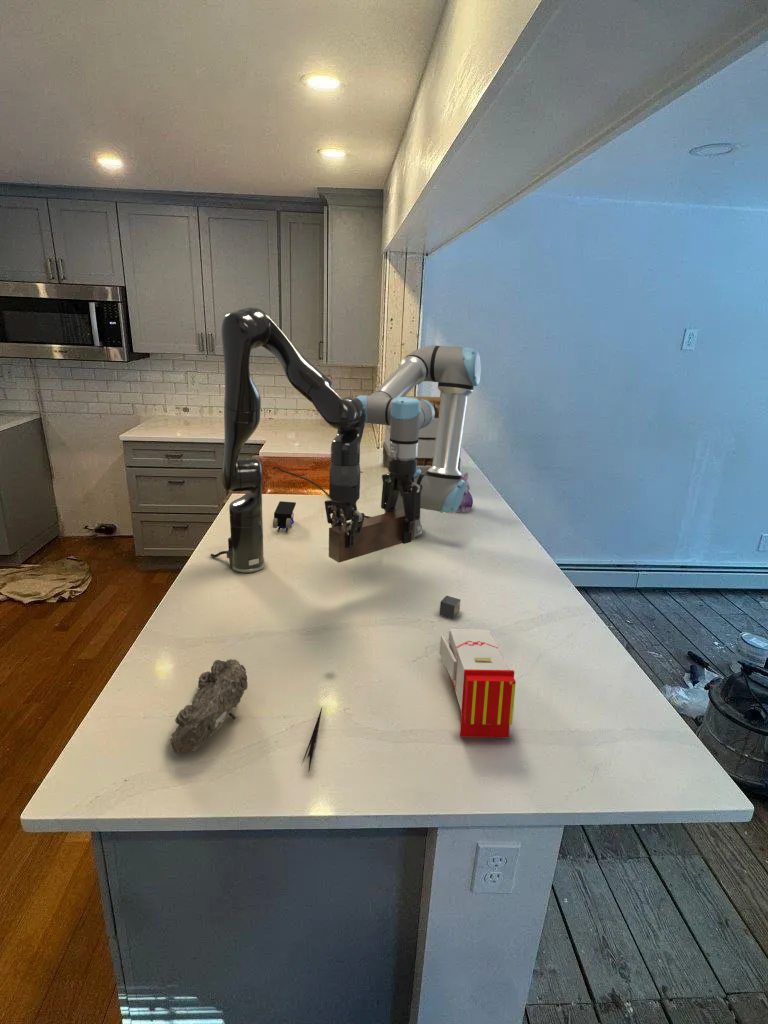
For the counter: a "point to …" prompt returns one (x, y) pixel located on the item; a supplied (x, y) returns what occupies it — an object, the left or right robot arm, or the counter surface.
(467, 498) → the figurine
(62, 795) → the counter surface
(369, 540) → the walnut bar
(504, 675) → the toy
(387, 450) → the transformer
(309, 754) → the feather
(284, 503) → the figurine character
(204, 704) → the fossil
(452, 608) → the slate cube
